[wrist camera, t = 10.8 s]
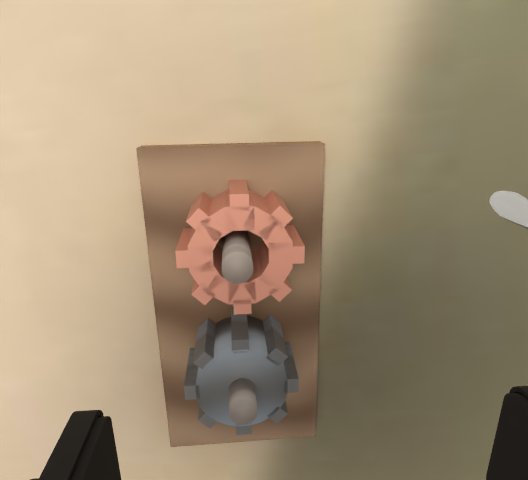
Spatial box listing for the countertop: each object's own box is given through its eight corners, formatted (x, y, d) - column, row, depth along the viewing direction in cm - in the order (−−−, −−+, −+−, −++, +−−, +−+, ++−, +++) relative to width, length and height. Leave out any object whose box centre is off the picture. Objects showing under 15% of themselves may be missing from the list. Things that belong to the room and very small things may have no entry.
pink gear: (179, 181, 24) (170, 195, 21) (294, 178, 25) (306, 192, 21) (187, 286, 27) (180, 317, 23) (292, 281, 27) (303, 311, 23)
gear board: (141, 145, 25) (107, 164, 18) (319, 141, 26) (353, 157, 19) (173, 431, 32) (157, 525, 25) (311, 421, 33) (334, 509, 26)
